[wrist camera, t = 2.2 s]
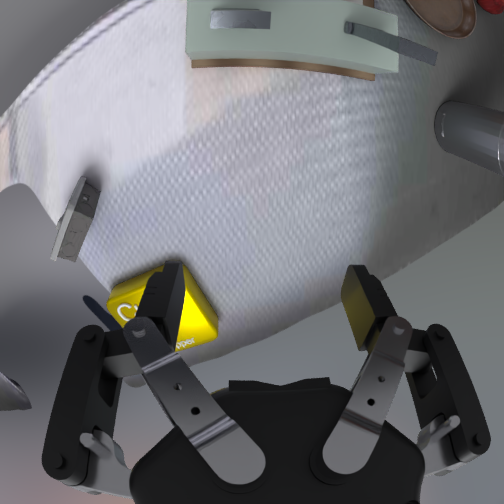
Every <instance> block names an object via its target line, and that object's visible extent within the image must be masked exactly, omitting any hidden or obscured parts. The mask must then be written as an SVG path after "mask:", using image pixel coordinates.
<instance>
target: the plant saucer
mask: <svg viewBox="0 0 504 504" xmlns="http://www.w3.org/2000/svg"><path fill="white" fill-rule="evenodd" d="M405 1H406V3H407V4H408V6H409V7H410V8H411V9H412V10H413V12H414V13H415V14H416V15H417V16H418V17H419V18H420V19H421V20H422V21H424V22H425V23H426V24H427V25H428V26H430V27H431V28H433V29H434V30H436V31H438V32H439V33H441V34H443V35H445V36H447V37H450V38H454V39H463V38H466V37H468V36H469V35H471V34H472V32H473V31H474V29H475V26H476V21H477V14H476V7H475V3H474V0H405Z"/></svg>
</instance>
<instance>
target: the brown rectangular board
mask: <svg viewBox="0 0 504 504" xmlns="http://www.w3.org/2000/svg"><path fill="white" fill-rule="evenodd" d="M344 1H348V2H352V3H356V4H360V5H364V6H367V7H371V8H374V0H344ZM205 67H268V68H285V69H297V70H307V71H316V72H323V73H330V74H337V75H343V76H349V77H355V78H360V79H365V80H370V81H375V74H372V73H368V72H363V71H358V70H353V69H348V68H342V67H336V66H330V65H323V64H315V63H307V62H298V61H286V60H272V59H243V58H229V59H200V60H192V68H205Z"/></svg>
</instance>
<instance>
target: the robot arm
mask: <svg viewBox="0 0 504 504" xmlns="http://www.w3.org/2000/svg"><path fill="white" fill-rule="evenodd" d="M435 134H436V137H437V140H438V142H439V144H440V146H441V147H442V148H443V149H444V150H445V151H447V152H449V153H451V154H454V155H456V156H459V157H461V158H463V159H466V160H468V161H470V162H473V163H475V164H477V165H480V166H482V167H484V168H486V169H488V170H490V171H493V172H495V173H497V174H499V175H501V176H503V177H504V112H502V111H498V110H494V109H490V108H485V107H481V106H476V105H471V104H466V103H461V102H455V101H448V102H446V103H444V104H443V105H442V106H441V107H440V108H439V110H438V112H437V114H436V118H435ZM185 294H186V288H185V280H184V273H183V265H182V262H173V261H166V262H165V265H164V268H163V271H162V272H154V273H153V274H152V276H151V277H150V278H149V279H148V281H147V284H146V288H145V289H144V292H143V295H142V298H141V300H140V303H139V306H138V309H137V312H136V315H135V317H134V318H133V319H131V320H129V321H128V322H127V323H126V324H125V325H124V327H123V329H120V330H115V331H109V332H104V331H103V329H102V328H101V327H100V326H97V325H88V326H85V327H83V328H82V329H81V330H80V331H79V332H78V333H77V335H76V337H75V340H74V342H73V345H72V348H71V351H70V353H69V356H68V359H67V362H66V365H65V368H64V371H63V374H62V378H61V381H60V384H59V388H58V391H57V394H56V398H55V401H54V405H53V409H52V413H51V416H50V421H49V425H48V429H47V433H46V438H45V443H44V448H43V453H42V465H43V467H44V470H45V471H46V473H47V474H48V475H49V476H51V477H53V478H54V479H56V480H58V481H60V482H62V483H64V484H65V485H67V486H70V487H72V488H74V489H77V490H79V491H84V492H87V493H90V494H94V495H97V494H101V493H105V494H110V495H114V496H119V497H124V498H130V499H133V500H134V502H135V504H420V491H421V485H422V481H423V478H424V477H427V476H430V475H433V474H434V475H436V476H443V475H445V474H447V473H449V472H451V471H453V470H455V469H457V468H459V467H461V466H463V465H465V464H466V463H468V462H470V461H472V460H473V459H475V458H477V457H478V456H480V455H482V454H483V453H485V452H486V451H487V450H488V448H489V446H490V441H491V437H490V433H489V429H488V426H487V423H486V420H485V417H484V414H483V411H482V408H481V405H480V403H479V399H478V397H477V394H476V392H475V389H474V386H473V384H472V381H471V379H470V376H469V374H468V372H467V369H466V367H465V365H464V362H463V360H462V357H461V355H460V353H459V351H458V349H457V346H456V344H455V342H454V340H453V338H452V336H451V334H450V332H449V331H448V330H447V329H446V328H445V327H444V326H442V325H440V324H432V325H430V326H429V328H428V329H427V331H424V330H418V329H413V328H412V326H411V325H410V323H409V322H408V321H407V320H406V319H404V318H402V317H399V316H398V315H397V313H396V311H395V309H394V307H393V305H392V303H391V301H390V299H389V297H388V296H387V293H386V292H385V290H384V288H383V286H382V284H381V282H380V281H379V280H378V279H377V278H376V277H375V276H374V275H370V274H369V272H368V270H367V269H366V267H365V265H349V266H348V268H347V272H346V275H345V279H344V282H343V285H342V289H341V299H342V303H343V305H344V308H345V311H346V314H347V317H348V320H349V322H350V325H351V328H352V331H353V335H354V337H355V340H356V344H357V347H358V350H359V351H365V350H367V351H368V356H367V357H366V359H365V362H364V364H363V366H362V368H361V370H360V372H359V374H358V376H357V378H356V380H355V382H354V384H353V385H352V387H351V389H350V390H347V389H345V388H343V387H340V386H337V385H333V384H330V379H329V377H325V378H311V379H304V380H300V381H297V382H294V383H290V384H286V385H282V386H279V385H274V384H268V383H263V382H259V381H236V380H229V387H228V388H223V389H220V390H217V391H215V392H212V393H211V394H209V393H208V392H207V390H206V389H205V388H204V386H203V385H202V384H201V383H200V381H199V380H198V379H197V378H196V376H195V375H194V373H193V372H192V371H191V370H190V368H189V367H188V365H187V364H186V363H185V361H184V360H183V359H182V357H181V356H180V355H179V354H178V353H176V354H175V348H176V343H177V337H178V332H179V327H180V322H181V316H182V311H183V307H184V302H185ZM432 367H433V368H434V371H435V373H436V376H437V380H436V378H435V375H434V372H433V369H432ZM403 371H404V372H405V374H406V377H407V380H408V383H409V387H410V391H411V394H412V397H413V401H414V405H415V408H416V412H417V416H418V420H419V424H420V427H421V431H420V432H419V434H418V437H417V444H414V443H413V442H412V441H411V440H410V439H408V438H407V437H406V436H405V435H403V434H402V433H401V432H399V431H398V430H397V429H396V428H395V427H393V426H392V425H391V424H390V423H388V422H387V421H386V420H385V418H386V415H387V413H388V411H389V408H390V406H391V403H392V401H393V398H394V395H395V393H396V390H397V388H398V385H399V382H400V379H401V377H402V374H403ZM138 374H142V376H143V378H144V380H145V381H146V383H147V385H148V386H149V388H150V390H151V391H152V393H153V395H154V396H155V398H156V400H157V401H158V403H159V404H160V406H161V408H162V410H163V411H164V413H165V414H166V416H167V418H168V419H169V421H170V422H171V424H172V425H173V426H174V428H173V429H172V430H171V431H170V432H169V433H168V434H167V435H166V436H165V437H164V438H163V439H161V440H160V441H159V442H158V443H157V444H156V445H155V446H154V447H153V448H152V449H151V450H150V451H149V452H148V453H146V455H144V456H143V457H142V458H141V459H140V460H139V461H138V462H137V463H136V464H135V466H134V467H133V469H132V470H131V469H128V468H127V466H126V464H125V461H124V453H123V450H122V448H121V447H120V445H119V444H118V443H116V442H115V441H114V440H113V432H114V426H115V419H116V412H117V407H118V401H119V395H120V389H121V384H122V379H123V377H127V376H132V375H138Z"/></svg>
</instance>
